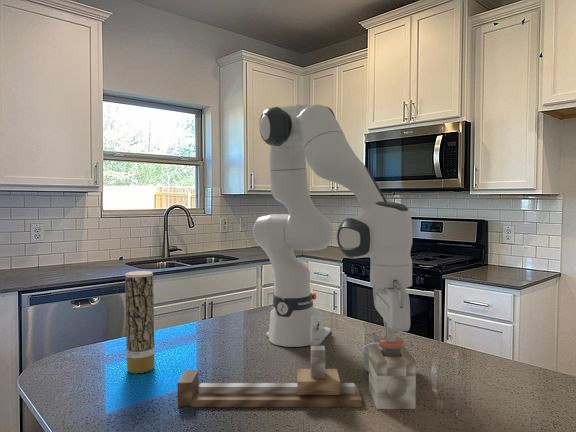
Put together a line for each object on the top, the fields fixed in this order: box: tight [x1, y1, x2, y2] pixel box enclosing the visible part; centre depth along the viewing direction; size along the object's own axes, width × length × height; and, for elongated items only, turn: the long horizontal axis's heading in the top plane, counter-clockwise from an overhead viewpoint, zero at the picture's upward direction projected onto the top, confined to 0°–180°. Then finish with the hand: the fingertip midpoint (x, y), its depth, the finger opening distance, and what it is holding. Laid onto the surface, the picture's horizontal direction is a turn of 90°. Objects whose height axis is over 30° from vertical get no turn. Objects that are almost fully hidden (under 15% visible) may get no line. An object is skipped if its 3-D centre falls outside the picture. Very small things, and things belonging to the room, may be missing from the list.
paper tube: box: [124, 270, 156, 374], centre depth 114 cm, size 7×7×25 cm
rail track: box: [176, 346, 417, 410], centre depth 98 cm, size 50×10×10 cm, turn 89°
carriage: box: [296, 345, 341, 395], centre depth 98 cm, size 9×7×9 cm
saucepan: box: [361, 332, 409, 373], centre depth 118 cm, size 12×20×6 cm, turn 1°
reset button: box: [378, 335, 405, 357], centre depth 97 cm, size 5×5×4 cm
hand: (390, 340), depth 97 cm, fingers closed
